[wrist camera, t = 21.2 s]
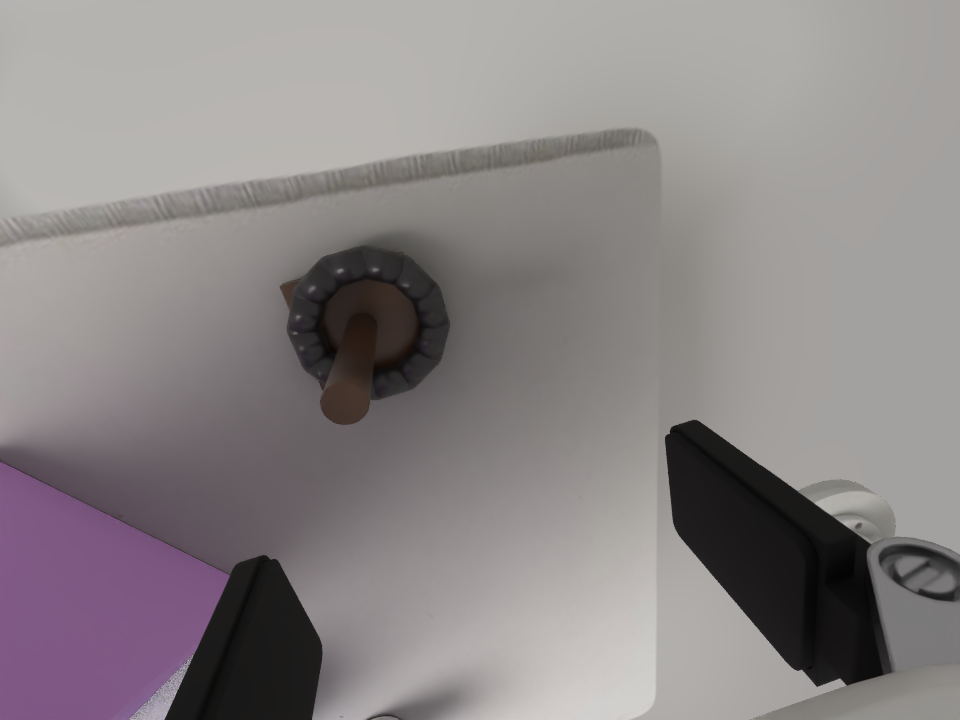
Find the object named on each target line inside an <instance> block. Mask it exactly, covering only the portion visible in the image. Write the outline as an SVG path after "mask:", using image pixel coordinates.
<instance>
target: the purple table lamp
mask: <svg viewBox="0 0 960 720" xmlns="http://www.w3.org/2000/svg"><path fill="white" fill-rule="evenodd" d="M229 577H230V575H228V574H226V573H224V572H222V571H220V570H218V569H216V568H214V567H212V566H210V565H208V564H206V563H204V562H202V561H200V560H198V559H196V558H194V557H192V556H190V555H188V554H186V553H184V552H182V551H180V550H178V549H176V548H174V547H172V546H170V545H168V544H166V543H164V542H162V541H160V540H158V539H156V538H154V537H152V536H150V535H148V534H146V533H144V532H142V531H140V530H138V529H136V528H133V527H131V526H129V525H127V524H125V523H123V522H121V521H119V520H117V519H115V518H113V517H111V516H109V515H107V514H105V513H103V512H101V511H99V510H97V509H95V508H93V507H91V506H89V505H87V504H85V503H83V502H81V501H79V500H77V499H75V498H73V497H71V496H69V495H67V494H65V493H63V492H61V491H59V490H57V489H55V488H53V487H51V486H49V485H47V484H45V483H43V482H41V481H39V480H37V479H35V478H33V477H31V476H29V475H26V474H24V473H22V472H20V471H18V470H16V469H14V468H12V467H10V466H8V465H6V464H4V463H2V462H0V720H128V719H129V718H130V717H131V716H132V715H133V714H134V713H135V712H136V711H137V710H138V709H139V708H140V707H141V706H142V705H143V704H144V703H145V702H146V701H147V700H148V699H149V698H150V697H151V696H152V695H153V694H154V693H155V692H156V691H157V690H158V689H159V688H160V687H161V686H162V685H163V684H164V683H165V682H166V681H167V680H168V679H169V678H170V677H171V676H172V675H173V674H174V673H175V672H176V671H177V670H178V669H179V668H180V667H181V666H182V665H183V664H184V663H185V662H186V661H187V660H188V659H189V658H190V657H191V656H192V655H193V654H194V653H195V652H196V650H197V647H198V645H199V643H200V641H201V639H202V636H203V634H204V632H205V630H206V628H207V625H208V623H209V621H210V619H211V617H212V614H213V612H214V610H215V608H216V606H217V603H218V601H219V599H220V597H221V595H222V592H223V590H224V588H225V586H226V584H227V581H228V579H229Z"/></svg>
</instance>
